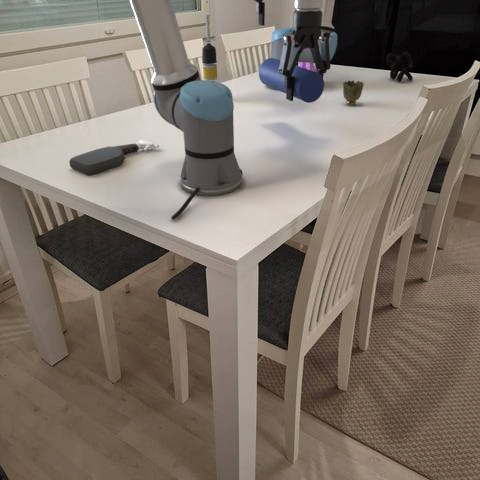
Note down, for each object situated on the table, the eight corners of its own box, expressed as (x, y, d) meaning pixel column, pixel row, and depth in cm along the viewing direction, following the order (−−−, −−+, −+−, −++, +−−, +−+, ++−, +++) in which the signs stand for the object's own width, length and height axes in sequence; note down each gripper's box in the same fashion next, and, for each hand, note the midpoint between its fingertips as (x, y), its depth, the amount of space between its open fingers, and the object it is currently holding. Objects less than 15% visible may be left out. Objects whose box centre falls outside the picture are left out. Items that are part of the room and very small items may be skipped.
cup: (338, 105, 167) (340, 83, 162) (344, 100, 172) (346, 79, 168) (358, 107, 164) (360, 85, 159) (363, 103, 169) (366, 81, 165)
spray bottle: (67, 168, 120) (139, 144, 136) (91, 178, 114) (163, 151, 130) (65, 157, 118) (137, 134, 134) (89, 167, 112) (162, 142, 128)
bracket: (309, 74, 214) (310, 58, 210) (299, 72, 217) (300, 57, 213) (322, 69, 223) (323, 54, 219) (312, 68, 225) (313, 53, 222)
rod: (323, 100, 127) (325, 70, 123) (298, 104, 124) (299, 73, 120) (281, 83, 146) (281, 56, 141) (258, 86, 143) (258, 59, 138)
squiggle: (400, 92, 202) (376, 71, 205) (417, 76, 202) (392, 56, 205) (405, 81, 191) (380, 59, 194) (423, 64, 191) (397, 42, 194)
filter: (220, 99, 177) (217, 15, 161) (206, 100, 176) (202, 16, 160) (215, 96, 182) (212, 14, 166) (202, 97, 180) (197, 14, 164)
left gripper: (333, 6, 123) (326, 90, 135) (265, 11, 116) (264, 99, 128) (349, 8, 118) (340, 96, 130) (280, 13, 110) (277, 105, 122)
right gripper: (311, -53, 142) (306, 21, 153) (239, -54, 133) (240, 25, 144) (324, -55, 136) (318, 23, 147) (250, -55, 127) (250, 27, 138)
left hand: (303, 97), depth 129 cm, fingers closed on rod, 8 cm apart
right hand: (280, 24), depth 145 cm, fingers open, 13 cm apart
